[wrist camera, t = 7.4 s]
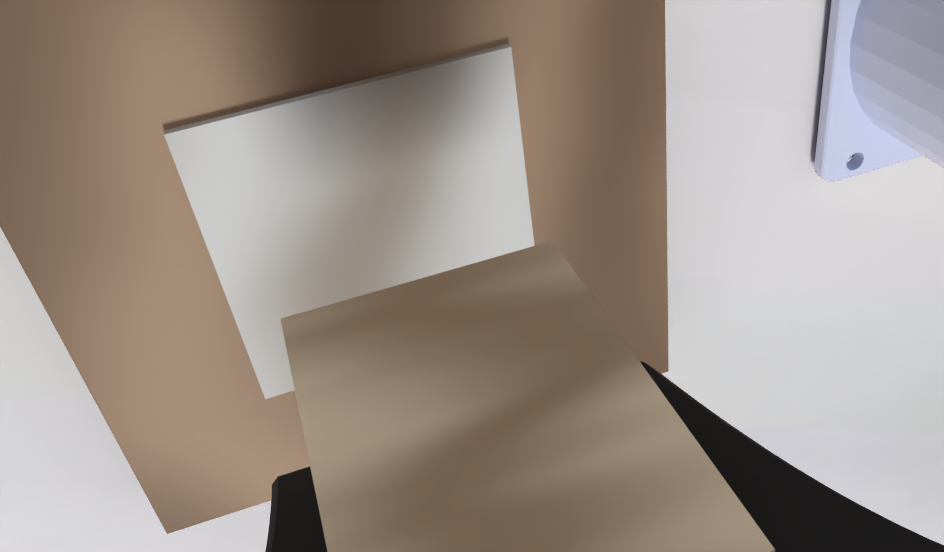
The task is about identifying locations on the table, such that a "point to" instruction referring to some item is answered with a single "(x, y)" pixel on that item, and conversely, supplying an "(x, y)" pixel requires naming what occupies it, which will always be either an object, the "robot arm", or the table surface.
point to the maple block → (498, 422)
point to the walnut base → (309, 191)
